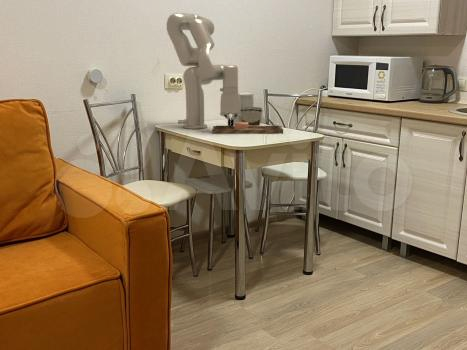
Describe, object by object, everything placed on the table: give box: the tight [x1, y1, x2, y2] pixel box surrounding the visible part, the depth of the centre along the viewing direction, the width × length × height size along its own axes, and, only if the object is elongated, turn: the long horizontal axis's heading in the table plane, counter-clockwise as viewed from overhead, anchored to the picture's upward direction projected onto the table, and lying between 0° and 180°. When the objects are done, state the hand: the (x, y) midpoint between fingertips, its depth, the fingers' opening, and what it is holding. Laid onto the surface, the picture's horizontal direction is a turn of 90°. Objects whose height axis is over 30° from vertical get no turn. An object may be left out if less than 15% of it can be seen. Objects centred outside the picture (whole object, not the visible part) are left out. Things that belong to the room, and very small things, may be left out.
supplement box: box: [234, 92, 255, 123], centre depth 287 cm, size 10×9×17 cm
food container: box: [241, 106, 263, 126], centre depth 279 cm, size 12×6×10 cm, turn 84°
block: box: [234, 122, 248, 129], centre depth 261 cm, size 7×7×4 cm
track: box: [211, 125, 284, 135], centre depth 261 cm, size 35×12×2 cm, turn 90°
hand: (230, 127), depth 261 cm, fingers closed
